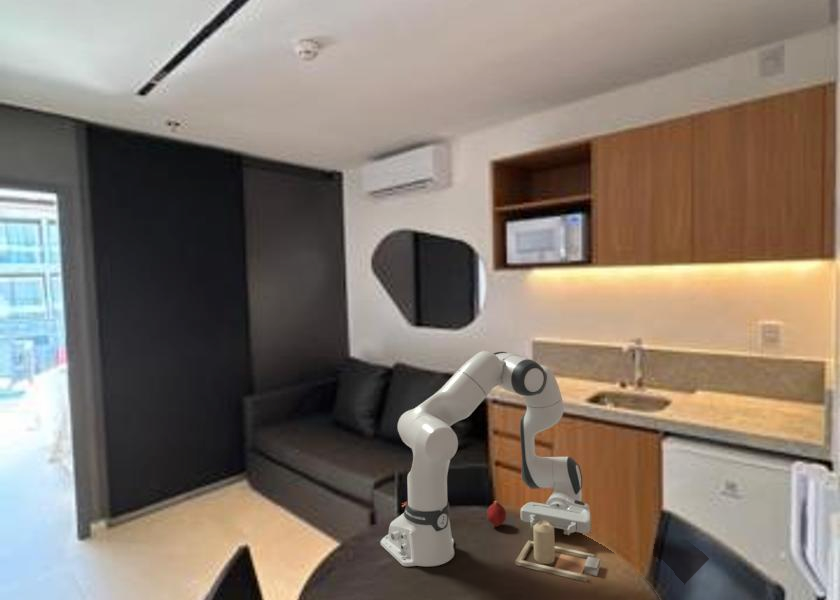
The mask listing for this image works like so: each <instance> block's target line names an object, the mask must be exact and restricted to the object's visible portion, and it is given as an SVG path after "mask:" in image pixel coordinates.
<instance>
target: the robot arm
mask: <svg viewBox="0 0 840 600" xmlns="http://www.w3.org/2000/svg"><path fill="white" fill-rule="evenodd" d="M497 386H498V387H500V388H502V389H503V390H506V391H508V392H510V393H514V394H517V395H520V396H524V399H525V404H526V405H525V406H526V411H525V413H524V414H522V415H521V418H520V423H519V436H520V440H519V441H520V451H521V452H520V453H521V478H522V481H523V482H524V484H525V485H526V486H527V487H528V488H529V489H531V490H536V489H554V490H552V494H551V495H550V496H549V497H548V499H547V501H546V503H540V502H537V501H528V502H527V503H525V504H523V505H522V507H521V508H520V512H519V514H520V515H519V516H520V520H521V521H522V522H525V523H530V528H532V529H533V526H534V525H535V524H536V523H537V522H539V521H544V520H545V521H547V522H548V523H550V524H551V525H552V526H553V527H554V529H561V530H563V535H568V536H570V535H571V534H573V533H575V532H576V533H581V534H585V535H587V534H590V533H591V530H592V529H591V528H592V527H591V524H592V522H591V512H590V504H588V503H585V502H583V501H582V497H583V496H582V493H583V492H582V487H583V475H582V471H581V467H580V465H579V464H578V462H576V460H575V459H573V458H572V456H571V457H570V456H539V455H537V454H536V444H535V436H536V435H538V434H539V433H541V432H543V431H545V430H548V429H550V428H552V427H554V426H556V424H558V422H559V421H560V420H561V419H562V417H563V415H564V403H563V398H562V394H561V390H560V386H559V384H558V382H557V379H556V377H555V374H554V372H553V370H552V369H551V368H550V367H549V366H547V365H544V364H539V363H538V362H537V361H535V360H533V359H528V358H526V357H524V356H522V355H520V354H515V353H510V352H507V351H496V352H490V351H487V350H482V351H479V352H477V353H476V354H474V355H473V356H472V357H470V358H469V359H468V360H467V361H466V362H465V363H463V364H462V366H460V367H459V368H458V370H457V371H456V372H454V374H453V375H452V376H451V377H450V378H449V379H448V380H447V381H446V382H445V384H444V385H442V387H441V388H439V389H438V391H436V392H435V393H434V394H433V395H431V396H430V397H428V398H426V400H424V401H423V402H422V403H420V404H418V405H417V406H415V408H412V409H409V410H407V411H405V412H404V413H403V414H401V415H400V417H399V418H398V422H397V432H398V434H399V437H400V438H401V441H402V442H403V443H404V444H405V445H406V446H407V447H409V448H410V449H411V451H412V464H411V468H410V471H409V472H408V473H407V477H406V478H407V479H406V480H407V482H406V483H407V500H406V501H404V502H402V503H401V504H402V505H401V507H402V508H403V507H404V512H403V513H402V514H401V515H399V516H397V517H396V518H394V519H393V520H392V521H391V522H390V524H389V527H388V534H386V535H385V536H384V537H382V539H381V540H380V544H379V545H380V546H381V547H382V548H384V549H385V550H386V551H387V552H388V553H389V554H390V555H391V556H392V557H393V558H394V559H395V560H396V561H397V562H398V563H399V564H401V566H403V567H416V566H418V567H437V566H440V565H443V564H446V563H448V562H449V561H451V560H452V559H453V558H454V556H455V553H456V552H455V548H454V544H455V542H454V538H453V537H452V529H451V521H450V503H449V501H448V472H449V466H450V463H451V459H452V458H453V457H454V456H455V455H456V453H457V450H458V448H459V447H458V446H459V440H458V436H457V434H456V432H455V431H454V430H453V428H452V425H454V424H456V423H458V422H460V421H462V420H465V419H467V418H468V417H470V416H471V415H472V413H473V412H474V411H475V410H476V409H477V408H478V406H480V404H481V403H482V402H484V400H485V399H486V397H487V396H488V395H489V394H490V393H491V391H492V390H493V389H494V388H496V387H497Z"/></svg>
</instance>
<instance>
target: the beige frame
mask: <svg viewBox="0 0 840 600" xmlns="http://www.w3.org/2000/svg"><path fill="white" fill-rule="evenodd" d="M531 548H534V540H533V541H532V540H529V539H528V540H527V542H526V543H525V545H524V547H523V548H522V550H521V551H520V552H519V555H518V556H517V558H516V559H515V561H514V565H515V566H517V567H518V566H519V567H523V568H527V569H531V570H536V571H540V572H544V573H548V574H553V575H556V576H560V577H565V578H568V579H573V580H577V581H580V582H581V581H582V582H587V581H588V575H590V576H595V577H597V576H598V573H599V570H600V568H601V559H600V558H597V557H595V554H594V553H589V552H585V551H581V550H574V549H572V548H571V549H570V548H567V547H562V546H557V545H555V553H559V554H560V555H559V556H558V559H557V561H556V563H555V565H554V566H553V567H552V566H548V565H545V564H541V563H535V562H531V561H527V560H524V559H525V558H526V557H527V555H528V553H529V551H530V549H531ZM583 572H584V574H583ZM586 574H587V575H586Z"/></svg>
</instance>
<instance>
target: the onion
mask: <svg viewBox="0 0 840 600" xmlns="http://www.w3.org/2000/svg"><path fill="white" fill-rule="evenodd" d="M486 517H487V520H488V521H489V522H490V523H491V524H492V525H493V526H494V527H496V528H497V527H499V526H501V525H503V523H504V522H505V521H506V519H507V513H506V509H505V507H504V506H503V505H502V504H501V503H499V502H498V501H497V500H495V501H493V503H492V504H490V506H488V508H487V510H486Z"/></svg>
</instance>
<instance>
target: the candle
mask: <svg viewBox="0 0 840 600" xmlns="http://www.w3.org/2000/svg"><path fill="white" fill-rule="evenodd" d="M532 529H533V531H532V532H533V533H532V534H533V541H534V547H533V559H534V561H536V562H537V564H540V565H551V564H553V563H554V562H555V560H556V558H555V557H556V552H555V546H556V545H555V544H556V543H555V528H554V527H553V526H552V525H551V524H550V523H548V522H547V521H545V520H544V521H539V522H537V523H536V524H535V525H534V526H533V528H532Z"/></svg>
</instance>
